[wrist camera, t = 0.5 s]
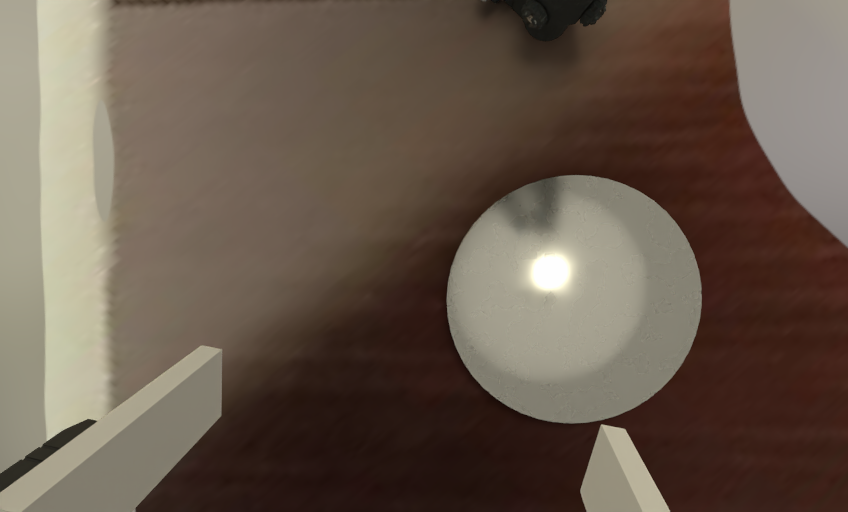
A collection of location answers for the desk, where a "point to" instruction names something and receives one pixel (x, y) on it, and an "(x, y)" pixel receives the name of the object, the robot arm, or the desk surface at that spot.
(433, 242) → the desk surface
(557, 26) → the scope
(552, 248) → the base
